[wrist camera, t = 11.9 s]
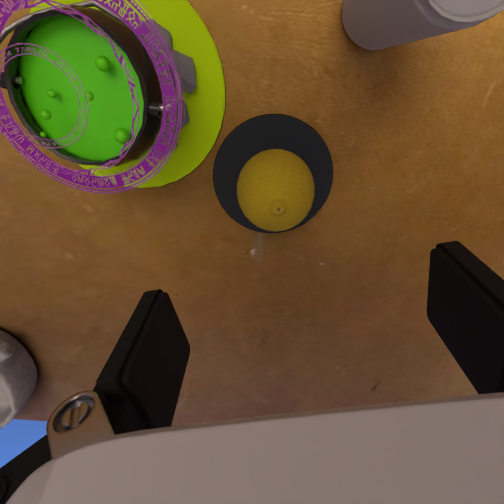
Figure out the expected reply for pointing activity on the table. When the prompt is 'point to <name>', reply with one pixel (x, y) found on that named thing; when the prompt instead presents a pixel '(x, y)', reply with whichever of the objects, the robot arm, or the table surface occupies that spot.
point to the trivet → (264, 138)
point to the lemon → (275, 190)
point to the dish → (14, 377)
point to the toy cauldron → (113, 88)
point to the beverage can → (411, 19)
